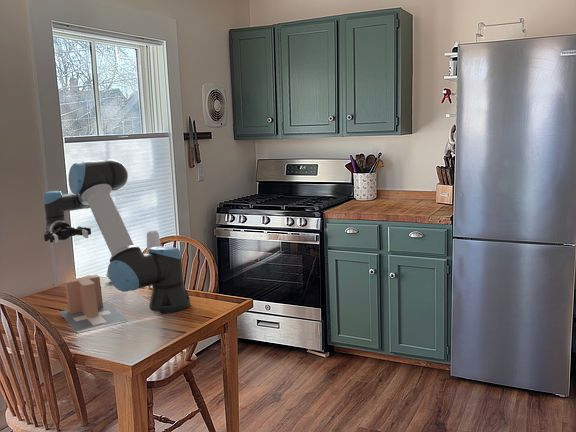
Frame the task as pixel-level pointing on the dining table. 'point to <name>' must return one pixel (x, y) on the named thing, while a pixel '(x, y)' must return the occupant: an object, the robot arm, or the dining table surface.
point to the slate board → (93, 318)
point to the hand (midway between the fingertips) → (72, 237)
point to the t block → (84, 295)
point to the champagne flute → (153, 240)
